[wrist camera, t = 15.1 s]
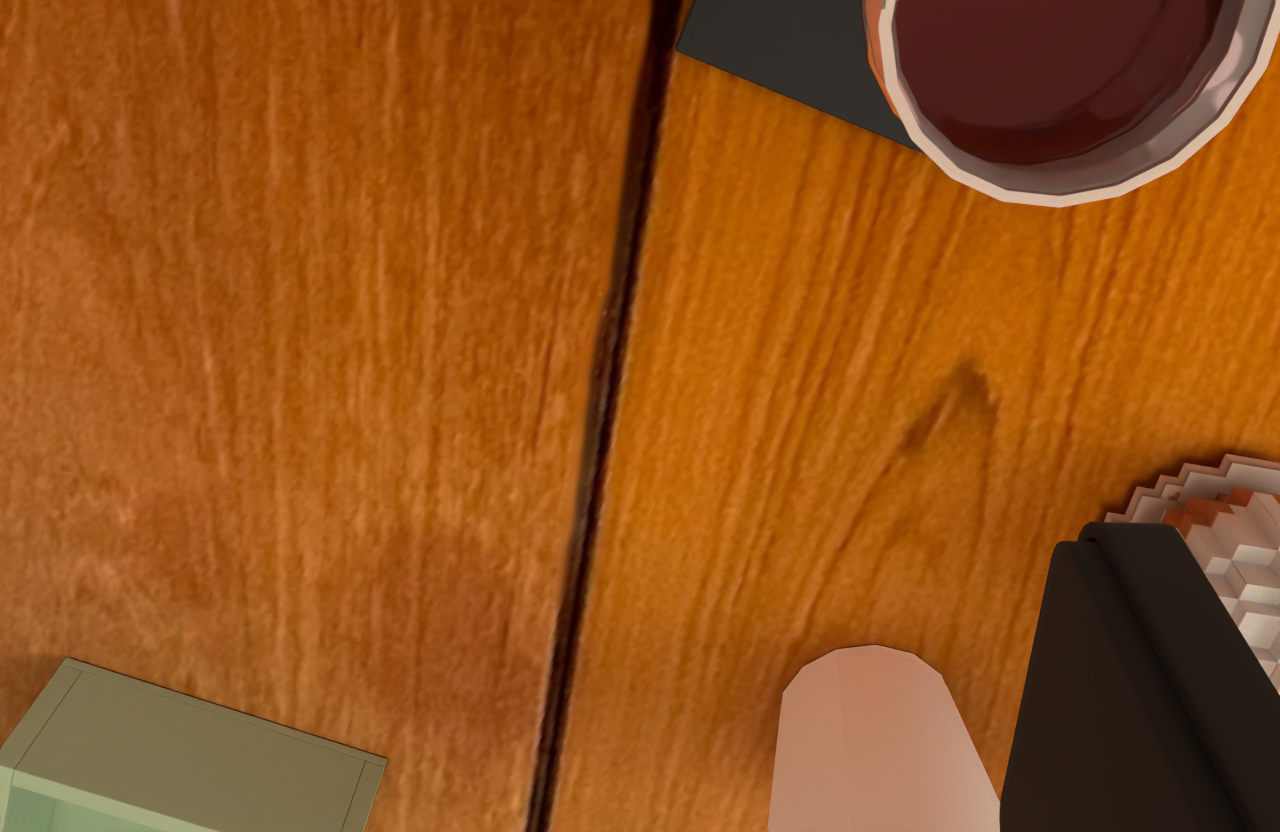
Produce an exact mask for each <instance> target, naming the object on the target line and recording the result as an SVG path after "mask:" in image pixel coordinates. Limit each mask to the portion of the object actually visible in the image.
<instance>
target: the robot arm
mask: <svg viewBox="0 0 1280 832" xmlns="http://www.w3.org/2000/svg"><path fill="white" fill-rule="evenodd" d="M999 822H1000V832H1280V695H1279V693H1278V692H1277V690H1276V688H1275V687H1274V685H1273V684H1272V682H1271V680H1270V679H1269V677H1268V675H1267V674H1266V672H1265V671H1264V669H1263V667H1262V666H1261V664H1260V662H1259V661H1258V659H1257V658H1256V656H1255V654H1254V653H1253V651H1252V650H1251V648H1250V646H1249V645H1248V643H1247V641H1246V640H1245V638H1244V637H1243V635H1242V633H1241V632H1240V630H1239V629H1238V627H1237V625H1236V624H1235V622H1234V620H1233V619H1232V617H1231V616H1230V614H1229V612H1228V611H1227V609H1226V608H1225V606H1224V604H1223V603H1222V601H1221V599H1220V598H1219V596H1218V595H1217V593H1216V591H1215V590H1214V588H1213V586H1212V585H1211V583H1210V582H1209V580H1208V578H1207V577H1206V575H1205V574H1204V572H1203V570H1202V569H1201V567H1200V565H1199V564H1198V562H1197V561H1196V559H1195V557H1194V556H1193V554H1192V553H1191V551H1190V549H1189V548H1188V546H1187V544H1186V543H1185V541H1184V540H1183V538H1182V536H1181V535H1180V533H1179V532H1178V531H1177V530H1176V529H1175V528H1174V527H1173V526H1172V525H1169V524H1166V523H1122V522H1090V523H1088V524H1086V525H1085V526H1084V527H1083V529H1082V530H1081V532H1080V534H1079V537H1078V540H1077V541H1061V542H1059V543H1057V545H1056V547H1055V548H1054V551H1053V554H1052V557H1051V562H1050V566H1049V571H1048V576H1047V581H1046V585H1045V590H1044V595H1043V600H1042V605H1041V609H1040V614H1039V619H1038V624H1037V628H1036V633H1035V638H1034V643H1033V648H1032V652H1031V657H1030V662H1029V667H1028V671H1027V676H1026V681H1025V686H1024V691H1023V695H1022V700H1021V705H1020V710H1019V714H1018V719H1017V724H1016V729H1015V733H1014V738H1013V743H1012V748H1011V753H1010V757H1009V762H1008V767H1007V772H1006V776H1005V781H1004V786H1003V791H1002V796H1001V802H1000V814H999Z"/></svg>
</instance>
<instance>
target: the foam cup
mask: <svg viewBox="0 0 1280 832" xmlns="http://www.w3.org/2000/svg"><path fill="white" fill-rule="evenodd" d="M999 814H1000V802H999V799H998V797H997V795H996V793H995V791H994V788H993V786H992V784H991V782H990V780H989V777H988V775H987V773H986V771H985V769H984V766H983V764H982V762H981V760H980V758H979V756H978V753H977V751H976V749H975V747H974V745H973V742H972V740H971V738H970V736H969V734H968V731H967V729H966V727H965V725H964V723H963V720H962V718H961V716H960V714H959V712H958V709H957V707H956V705H955V703H954V701H953V698H952V696H951V694H950V692H949V690H948V687H947V685H945V682H944V680H943V678H942V675H941V674H940V673H938V672H937V671H936V670H934V669H933V668H932V667H931V666H929V665H928V664H927V663H925V662H924V661H923V660H921V659H920V658H919V657H917V656H916V655H915V654H913V653H908V652H904V651H900V650H896V649H892V648H888V647H883V646H879V645H869V646H861V647H852V648H844V649H836V650H834V651H832V652H830V653H828V654H826V655H824V656H822V657H821V658H819V659H817V660H815V661H813V662H811V663H809V664H807V665H805V666H803V667H802V668H801V670H800V671H799V672H798V674H797V675H796V676H795V677H794V679H793V680H792V681H791V683H790V684H789V685H788V687H787V688H786V689H785V690H784V692H783V696H782V704H781V710H780V719H779V728H778V737H777V746H776V755H775V765H774V774H773V783H772V792H771V801H770V810H769V819H768V829H767V832H1000V822H999Z"/></svg>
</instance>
